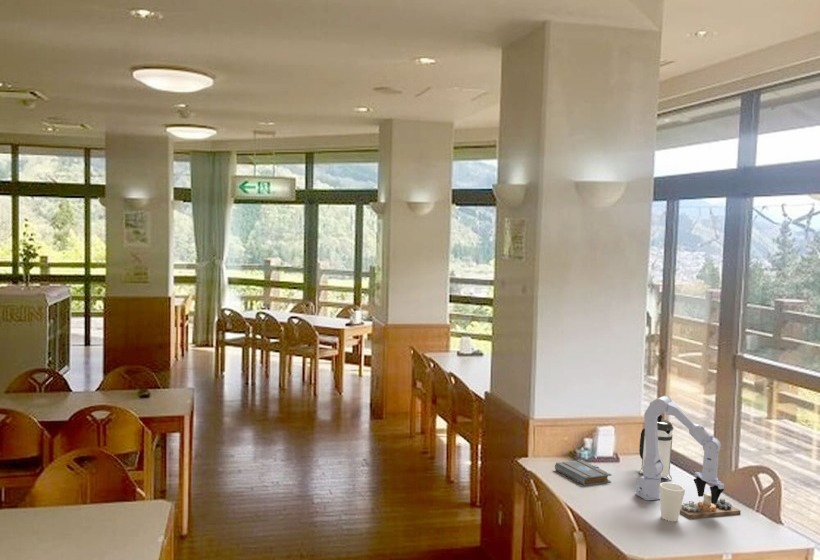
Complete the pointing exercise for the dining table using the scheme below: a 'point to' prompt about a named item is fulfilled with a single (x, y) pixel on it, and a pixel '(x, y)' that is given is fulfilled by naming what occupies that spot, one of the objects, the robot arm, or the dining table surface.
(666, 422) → the coffee press
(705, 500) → the loose gear
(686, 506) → the gear
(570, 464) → the book
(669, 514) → the foam cup
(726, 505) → the gear
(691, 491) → the dining table surface
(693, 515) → the gear board
